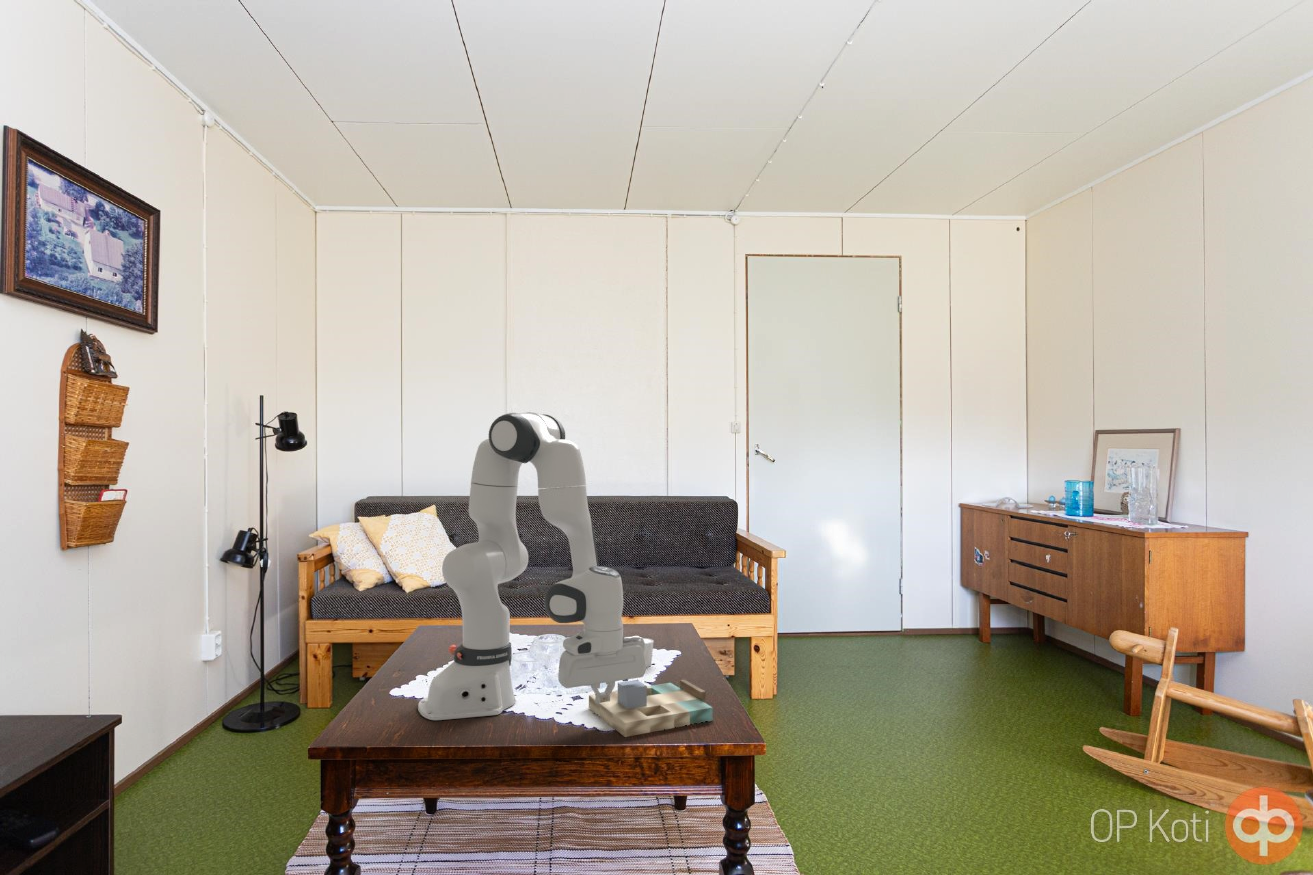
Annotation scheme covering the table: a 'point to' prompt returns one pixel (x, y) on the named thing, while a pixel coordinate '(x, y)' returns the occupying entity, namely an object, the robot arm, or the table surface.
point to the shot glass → (648, 651)
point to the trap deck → (656, 709)
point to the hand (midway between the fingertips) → (602, 701)
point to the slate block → (632, 694)
